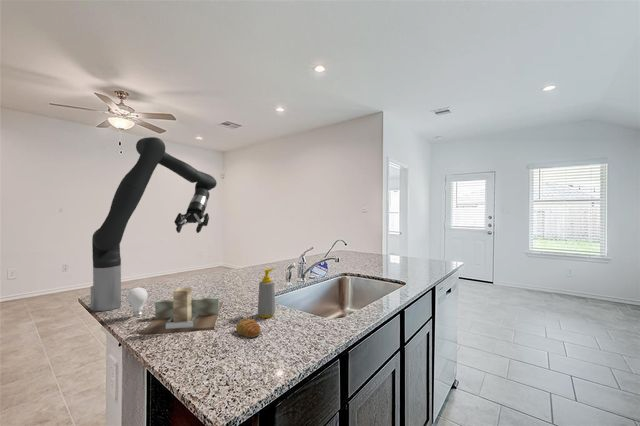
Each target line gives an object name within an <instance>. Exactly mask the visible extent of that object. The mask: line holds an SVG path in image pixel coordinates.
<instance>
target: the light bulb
mask: <svg viewBox="0 0 640 426" xmlns="http://www.w3.org/2000/svg"><path fill="white" fill-rule="evenodd" d="M148 296H149V295H148V291H147V290H146V288H143V287H135V288H132V289H131V290H129V292H128V294H127V296H126V300H127V303H128V304H129V305H130V307H131V309H132V311H133V312H132V315H133V316H139V315H142V314H143V309H144V304H145V303H146V301H147V300H148Z"/></svg>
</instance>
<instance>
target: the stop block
mask: <svg viewBox="0 0 640 426" xmlns="http://www.w3.org/2000/svg"><path fill="white" fill-rule="evenodd" d="M172 295H173V322H181V321H191V298H192V287H177V288H175V290H174V291H173V293H172Z"/></svg>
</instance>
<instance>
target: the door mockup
mask: <svg viewBox="0 0 640 426" xmlns="http://www.w3.org/2000/svg"><path fill="white" fill-rule="evenodd" d="M223 303H224V301H220V297H219V296H212V297H209V296H207V297H194V298H193V297H191V313H198V319H197V321H196V323H195V325H194V327H193V328H181V329H168V330H166V323H167V321H168V320H169V319H170V318H171V316H172V315H173V299H157V300H155V302H154V308H155V309H154V311H155V312H154V318H153V320H152V321H151V322H150V323H149V324H148V326H147V327H145V328H144V330H143V331H142V332H141V334H142V336H151V335H154V336H155V335H165V334H177V333H178V334H179V333H180V334H181V333H188V332H189V333H190V332H202V331H204V332H205V331H214V330H215V328H216V327H215V325H216V322H217V320H218V317H219V315H220V312H221V309H222V307H223V306H222V305H223Z"/></svg>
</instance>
